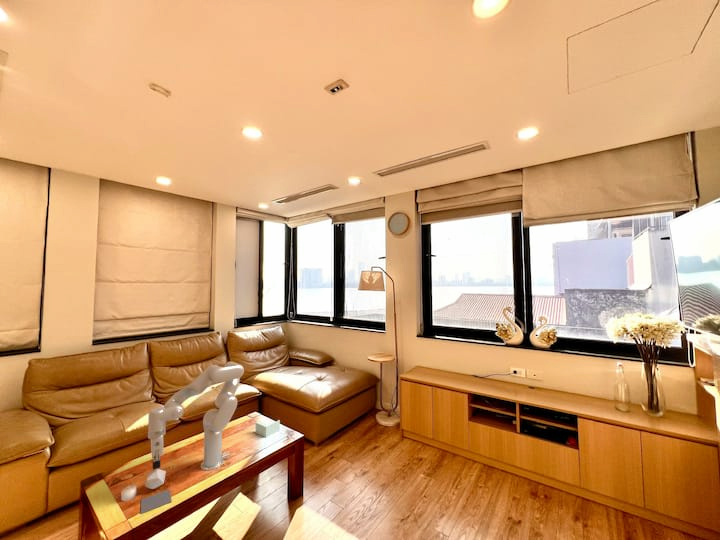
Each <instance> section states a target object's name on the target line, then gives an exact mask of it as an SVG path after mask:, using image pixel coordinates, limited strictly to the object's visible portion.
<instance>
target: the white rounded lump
mask: <svg viewBox="0 0 720 540" xmlns="http://www.w3.org/2000/svg"><path fill="white" fill-rule="evenodd" d="M120 496H121V497H120V501H122V502H128V501H131V500H132V499H134V498H136V496H137V485H136V484H131V485H127V486H126V487H124V488H123V489H121V491H120Z"/></svg>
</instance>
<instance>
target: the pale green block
mask: <svg viewBox="0 0 720 540" xmlns="http://www.w3.org/2000/svg"><path fill="white" fill-rule="evenodd" d="M280 423H281V421H280V419H278V420H277V421H274V422H272V423H270V424H268V425H265V424H263V423H261V422H258V421H256V422H255V433H256V434H258V435H260V436H262V437H264V438H269V437H270V436H271V435H274V434H276V433H277V432H279V431H280V429H281V426H280V425H281V424H280Z"/></svg>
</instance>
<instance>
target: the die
mask: <svg viewBox="0 0 720 540" xmlns="http://www.w3.org/2000/svg"><path fill="white" fill-rule="evenodd" d="M166 473H167V471H166V470H165V469H164V470H163V469H160V468H157V469H154V470H152V471H150V472H149V473H147V477H146V480H145V485H144V486H145V487H146V488H148V489H151V490H155V489H158V488H159V487H161V486H162V485H164V483H165V479H166Z"/></svg>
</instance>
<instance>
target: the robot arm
mask: <svg viewBox="0 0 720 540" xmlns="http://www.w3.org/2000/svg"><path fill="white" fill-rule="evenodd" d="M244 373H245V368H244V366H243V365H242V364H240V363H237V362H235V361H227V362H226V363H225V364H224V366H219V365H217V364H211V365H209V366H208V367H206V368H204V370H203V371H202V372H201V373H200V374H199V375H198V376H197V377H196V378H195V379H194V380H193V381H192V382H190V383H189V384H188V385H186V386H185V387H182V388H181V389H180V390H178V391H176V392H175V394H173V395H172V396H171V397H170V398H169V399H167V401H166V402H165V404H164V406H159V407H155V408H152V409H150V411H149V412H148V421H147V422H148V424H147V425H148V427H147V428H148V431H147V437H148V438H147V439H149V440H150V450H151V452H150V453H151V458H152V459H153V460H152V471H154V470H155V469H160V468H161V457H163V455H164V436H165V435H166V431H167V430H166V427H167V426H166V425H167V423H166V422H170V421H175V420H179V419H180V418H181V417H182V416H183V414H184V407H183V406H182V404H183V403H184V402H186V401H187V400H188V399H190V398H192V397H195V396H199V395H201V394H203V393H204V391H206V390H207V388H208V387H209V386H210V385H211V384H212V383H213V382H214V383H223V382H224V384H223V385H222V387H221V389H220V391H219V393H218V394H217V396H216V399H215V401H214V403H215V406H216V407H217V408H218V409H217V408H211V409H208V410H207V411H206V412H205V413H204V415H203V419H202V425H203V461H202V462H201V463H200V469H201V470H202V471H214V470H216V469H218V468H220V467H221V466H222V465H223V464H224V463H225V458H228V457H230V456H231V452H228V451H225V452H223V450H222V449H223V448H222V447H223V444H222V443H223V442H222V441H223V438H222V437H223V432H222V431H224V430H225V428H226V427H227V426H228V424H229V422H230V421H231V419H232V417H233V415H234V413H235V411H236V409H237V407H238V398H237V397H236V396H235V394H236V392H237V389H238V388H239V384H240V379H241V377H242V376H243V375H244Z"/></svg>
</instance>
